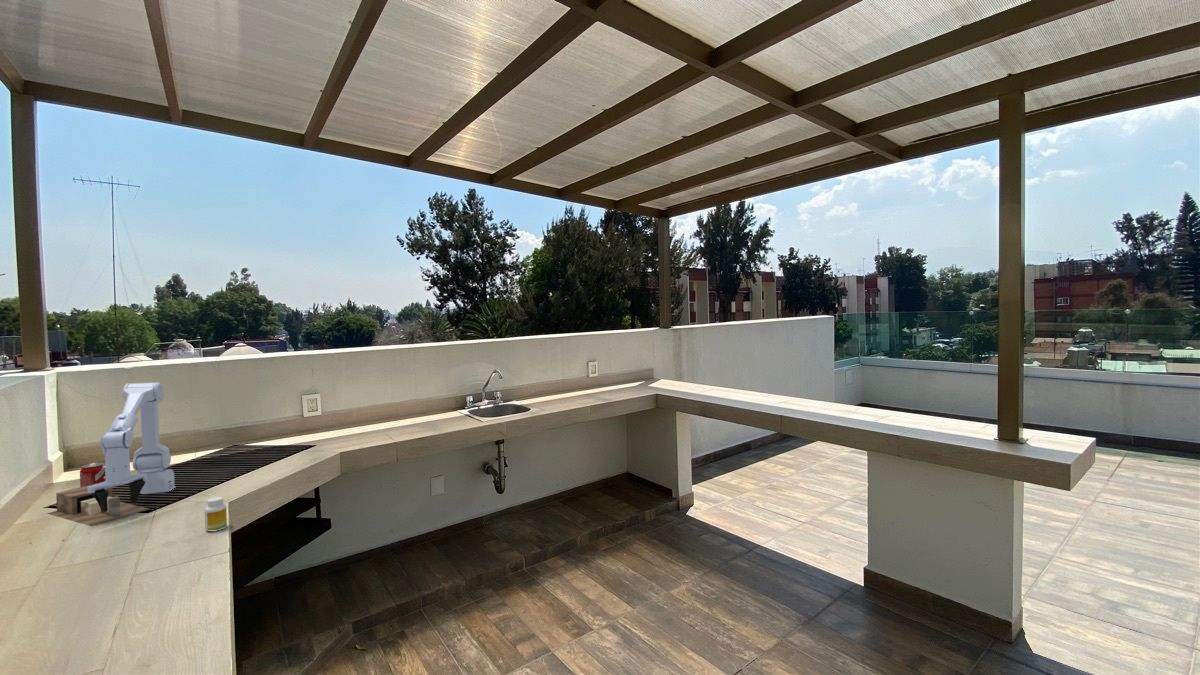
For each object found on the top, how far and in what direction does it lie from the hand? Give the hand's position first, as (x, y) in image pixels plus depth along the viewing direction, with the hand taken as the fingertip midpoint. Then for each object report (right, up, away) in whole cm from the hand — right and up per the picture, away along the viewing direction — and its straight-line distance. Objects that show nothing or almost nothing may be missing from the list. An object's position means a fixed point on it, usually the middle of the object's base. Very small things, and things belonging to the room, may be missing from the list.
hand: (119, 506), depth 160 cm
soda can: (-31, -4, +22) cm, 38 cm away
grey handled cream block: (-8, -3, +3) cm, 9 cm away
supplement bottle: (+38, -5, -7) cm, 39 cm away
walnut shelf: (-12, -4, +5) cm, 13 cm away
